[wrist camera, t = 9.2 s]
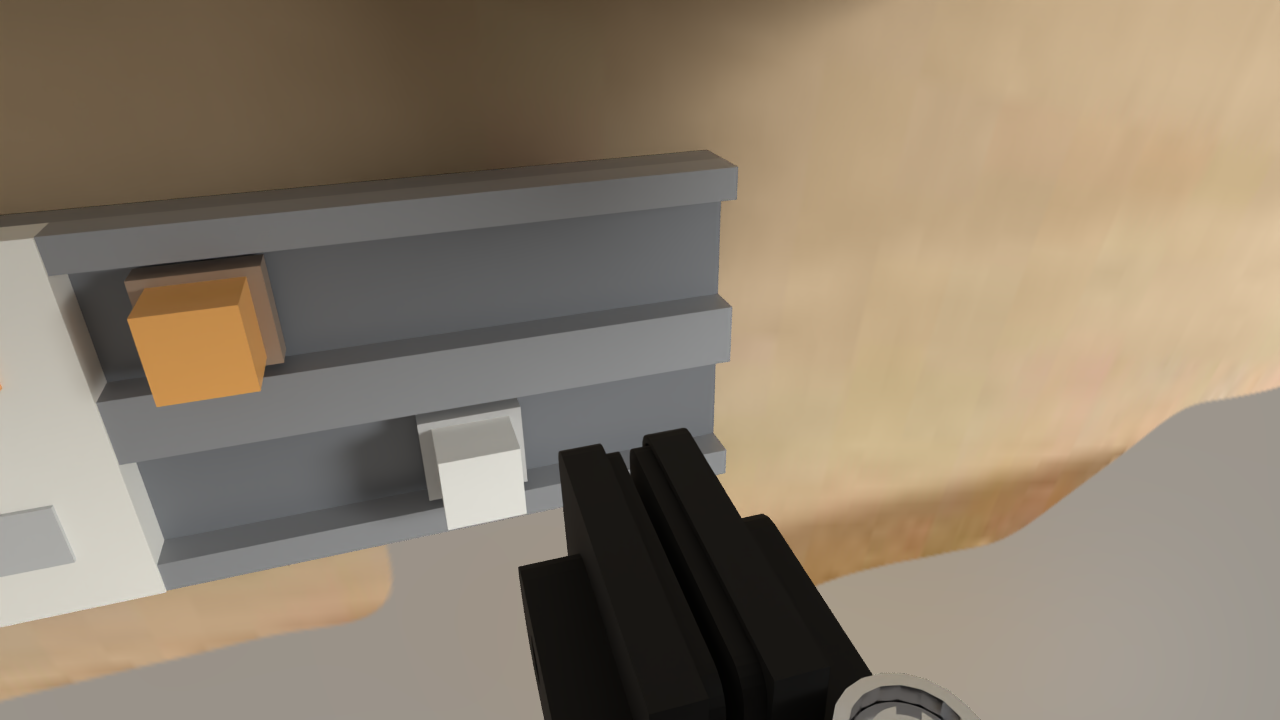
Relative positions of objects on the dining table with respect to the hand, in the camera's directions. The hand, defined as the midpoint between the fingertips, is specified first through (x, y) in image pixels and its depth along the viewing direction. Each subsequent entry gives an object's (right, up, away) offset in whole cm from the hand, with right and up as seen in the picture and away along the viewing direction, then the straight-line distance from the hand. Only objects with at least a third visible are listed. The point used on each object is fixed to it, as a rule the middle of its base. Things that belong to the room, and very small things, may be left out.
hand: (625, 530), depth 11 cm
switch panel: (-11, +2, +22) cm, 24 cm away
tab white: (-7, -1, +23) cm, 24 cm away
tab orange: (-15, +4, +17) cm, 23 cm away
